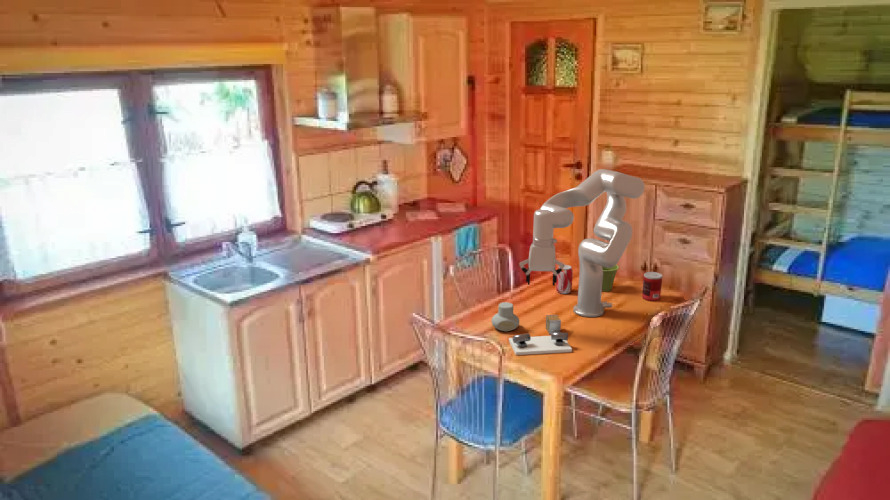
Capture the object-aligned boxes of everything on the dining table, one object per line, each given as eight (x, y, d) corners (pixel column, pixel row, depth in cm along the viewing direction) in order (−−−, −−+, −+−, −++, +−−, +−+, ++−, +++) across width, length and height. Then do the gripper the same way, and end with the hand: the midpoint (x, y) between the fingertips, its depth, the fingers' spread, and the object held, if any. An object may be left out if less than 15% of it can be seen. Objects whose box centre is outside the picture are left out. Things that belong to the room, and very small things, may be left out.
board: (562, 337, 258) (562, 335, 257) (571, 352, 246) (571, 349, 246) (508, 340, 255) (508, 337, 255) (515, 355, 244) (515, 352, 244)
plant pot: (585, 289, 307) (586, 265, 303) (600, 282, 314) (601, 259, 311) (607, 296, 298) (608, 272, 295) (622, 289, 306) (624, 266, 302)
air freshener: (517, 323, 270) (518, 300, 267) (520, 332, 263) (521, 308, 259) (490, 324, 270) (491, 301, 267) (492, 332, 262) (493, 309, 259)
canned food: (662, 297, 297) (664, 273, 294) (657, 303, 291) (659, 279, 287) (644, 293, 301) (647, 270, 298) (639, 299, 295) (641, 275, 291)
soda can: (572, 294, 300) (574, 269, 296) (556, 294, 300) (558, 269, 296) (570, 289, 306) (571, 264, 303) (554, 289, 307) (556, 264, 303)
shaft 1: (526, 341, 252) (526, 331, 251) (531, 346, 248) (531, 336, 247) (511, 343, 250) (511, 333, 249) (516, 348, 246) (516, 338, 245)
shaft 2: (566, 340, 253) (567, 330, 251) (567, 346, 248) (568, 335, 247) (550, 340, 253) (551, 330, 252) (551, 345, 249) (551, 335, 248)
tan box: (545, 328, 266) (546, 315, 264) (556, 327, 267) (557, 314, 265) (549, 334, 261) (550, 321, 259) (560, 333, 261) (561, 320, 259)
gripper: (565, 239, 258) (562, 281, 263) (519, 238, 259) (518, 280, 265) (566, 245, 251) (564, 288, 256) (520, 244, 252) (518, 286, 258)
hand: (541, 284), depth 260 cm, fingers open, 9 cm apart
